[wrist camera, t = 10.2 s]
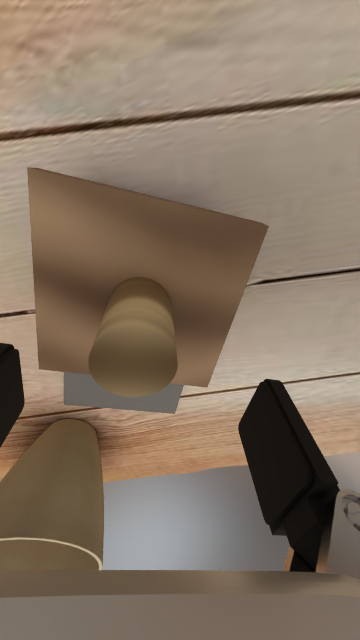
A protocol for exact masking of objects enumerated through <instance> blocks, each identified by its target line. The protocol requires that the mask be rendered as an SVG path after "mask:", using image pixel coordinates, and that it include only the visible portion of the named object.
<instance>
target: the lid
mask: <svg viewBox="0 0 360 640" xmlns="http://www.w3.org/2000/svg"><path fill="white" fill-rule="evenodd" d="M27 169H28V186H29V204H30V221H31V239H32V256H33V273H34V291H35V308H36V326H37V343H38V361H39V369H43V370H52V371H61V372H70V373H80V374H89V375H92V377H93V379H94V380H95V381H96V382H97V383H98V384H99V385H100V386H101V387H102V388H104V389H105V390H107V391H109V392H111V393H113V394H116V395H120V396H124V397H143V396H148V395H151V394H154V393H157V392H159V391H160V390H162V389H164V388H165V387H166V386H167V385H168V384H169V383H172V384H181V385H190V386H200V387H208V384H209V382H210V379H211V376H212V374H213V371H214V368H215V366H216V363H217V361H218V358H219V355H220V353H221V350H222V347H223V345H224V342H225V340H226V337H227V334H228V332H229V329H230V326H231V324H232V321H233V319H234V316H235V313H236V311H237V308H238V305H239V303H240V300H241V297H242V295H243V292H244V290H245V287H246V284H247V282H248V279H249V276H250V274H251V271H252V269H253V266H254V263H255V261H256V258H257V255H258V253H259V250H260V248H261V245H262V242H263V240H264V237H265V234H266V232H267V229H268V227H269V226H267V225H265V224H263V223H260V222H256V221H252V220H248V219H244V218H240V217H236V216H232V215H228V214H223V213H219V212H215V211H211V210H207V209H203V208H199V207H195V206H191V205H187V204H183V203H179V202H174V201H170V200H166V199H162V198H158V197H154V196H150V195H146V194H142V193H138V192H134V191H130V190H125V189H121V188H117V187H113V186H109V185H105V184H101V183H97V182H93V181H89V180H85V179H81V178H76V177H72V176H68V175H64V174H60V173H56V172H52V171H48V170H44V169H40V168H27Z"/></svg>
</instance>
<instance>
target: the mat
mask: <svg viewBox="0 0 360 640" xmlns="http://www.w3.org/2000/svg"><path fill="white" fill-rule="evenodd" d="M182 389H183V385H181V384H172V383H169V384H168V385H167V386H166V387H165V388H164V389H162V390H160V391H159V392H157V393H154V394H151V395H148V396H143V397H124V396H120V395H116V394H113V393H111V392H109V391H107V390H105V389H104V388H102V387H101V386H100V385H99V384H98V383H97V382H96V381H95V380H94V379H93V377H92V375H89V374H80V373H70V372H64V404H65V405H77V406H89V407H101V408H113V409H125V410H137V411H149V412H161V413H173V414H175V411H176V408H177V405H178V401H179V398H180V395H181V392H182Z"/></svg>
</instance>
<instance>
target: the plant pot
mask: <svg viewBox="0 0 360 640" xmlns="http://www.w3.org/2000/svg"><path fill="white" fill-rule="evenodd" d="M103 495H104V494H103V477H102V467H101V458H100V451H99V445H98V440H97V435H96V432H95V430H94V428H93V427H92V426H91V425H89V424H88V423H86V422H84V421H81V420H77V419H63V420H59V421H56V422H54V423H53V424H51V425H50V426H49V427H48V428H47V429H46V430H45V431H44V432H43V433H42V434H41V435H40V436H39V437H38V438H37V440H36V441H35V442H34V443H33V444H32V445H31V446H30V447H29V448H28V449H27V450H26V452H25V453H24V454H23V455H22V456H21V457H20V459H19V460H18V461H17V462H16V463H15V464H14V466H13V467H12V468H11V469H10V471H9V472H8V473H7V474H6V476H5V477H4V478H3V479H2V481H1V482H0V571H1V570H102V567H103V538H104V537H103V536H104V496H103Z"/></svg>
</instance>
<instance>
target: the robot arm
mask: <svg viewBox="0 0 360 640" xmlns="http://www.w3.org/2000/svg"><path fill="white" fill-rule="evenodd" d="M23 407H24V392H23V383H22V375H21V366H20V358H19V351H18V350H17V349H14V346H13V345H11V344H4V343H0V447H1V446H2V444H3V442H4V440H5V439H6V437H7V435H8V434H9V432H10V430H11V429H12V427H13V425H14V423H15V422H16V420H17V418H18V417H19V415H20V413H21V412H22V410H23ZM238 429H239V434H240V438H241V441H242V445H243V448H244V452H245V455H246V458H247V462H248V465H249V469H250V472H251V476H252V479H253V483H254V486H255V489H256V493H257V496H258V500H259V503H260V506H261V510H262V514H263V517H264V520H265V522H266V523H267V524H268V525H269V526H270V528H271V532H272V535H286V536H287V538H288V541H289V544H290V547H289V550H288V554H287V558H286V562H285V566H284V570H283V571H210V570H209V571H208V570H206V571H204V570H1V571H0V640H360V494H359V493H357V492H355V491H353V490H349V489H343V490H341V491H340V489H339V488H338V486H337V484H338V482H337V480H336V478H335V476H334V474H333V472H332V471H331V469H330V467H329V465H328V464H327V462H326V460H325V458H324V456H323V455H322V453H321V451H320V449H319V448H318V446H317V444H316V442H315V440H314V439H313V437H312V435H311V433H310V432H309V430H308V428H307V426H306V424H305V423H304V421H303V419H302V417H301V415H300V414H299V412H298V410H297V408H296V407H295V405H294V403H293V401H292V399H291V398H290V396H289V394H288V392H287V391H286V389H285V387H284V385H283V383H282V382H281V381H279V380H271V379H265V380H264V381H263V382H261V383H260V384H259V386H258V388H257V390H256V391H255V393H254V395H253V397H252V399H251V401H250V403H249V405H248V407H247V409H246V411H245V413H244V415H243V417H242V419H241V420H240V422H239V427H238Z"/></svg>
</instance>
